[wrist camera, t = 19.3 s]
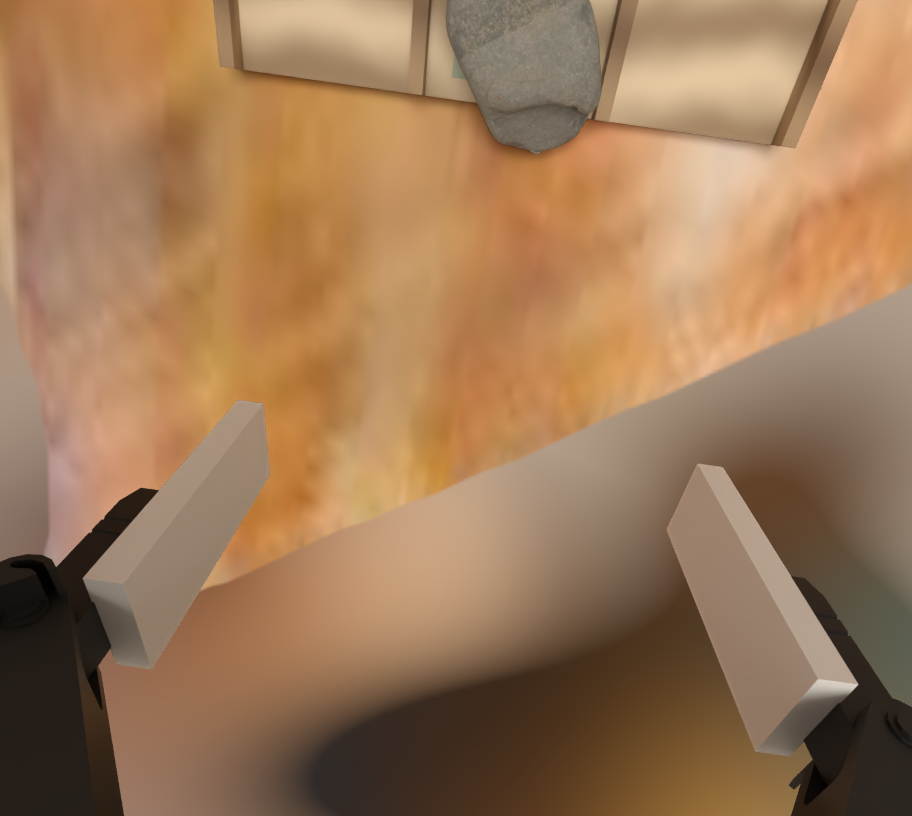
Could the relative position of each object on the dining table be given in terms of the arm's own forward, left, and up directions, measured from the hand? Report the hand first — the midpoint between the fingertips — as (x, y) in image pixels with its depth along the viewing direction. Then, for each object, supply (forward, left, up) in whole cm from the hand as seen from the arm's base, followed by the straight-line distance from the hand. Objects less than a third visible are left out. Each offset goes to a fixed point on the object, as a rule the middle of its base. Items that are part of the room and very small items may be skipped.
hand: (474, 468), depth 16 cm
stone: (-12, 0, -30) cm, 32 cm away
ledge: (-15, 0, -32) cm, 35 cm away
